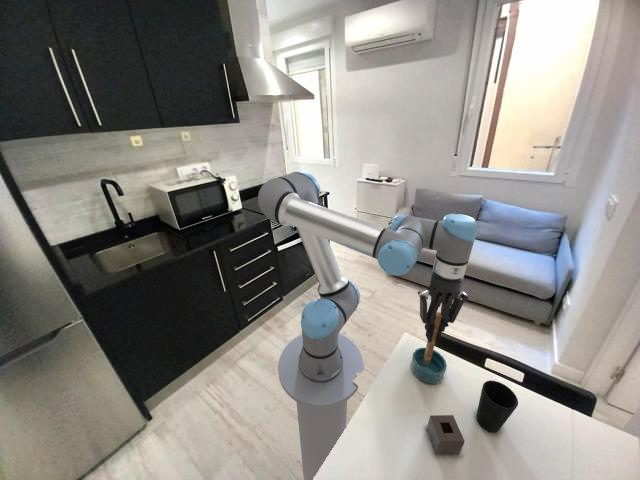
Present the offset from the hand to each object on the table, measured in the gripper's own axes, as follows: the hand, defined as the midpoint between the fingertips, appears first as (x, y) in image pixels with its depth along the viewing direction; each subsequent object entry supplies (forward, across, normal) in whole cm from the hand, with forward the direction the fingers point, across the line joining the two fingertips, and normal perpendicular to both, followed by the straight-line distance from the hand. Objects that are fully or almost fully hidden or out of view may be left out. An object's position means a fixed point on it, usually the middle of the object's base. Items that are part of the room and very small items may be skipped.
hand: (432, 338), depth 78 cm
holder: (+16, -2, -20) cm, 25 cm away
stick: (+10, 0, 0) cm, 10 cm away
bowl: (+16, +1, +1) cm, 16 cm away
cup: (+16, +12, -15) cm, 25 cm away
